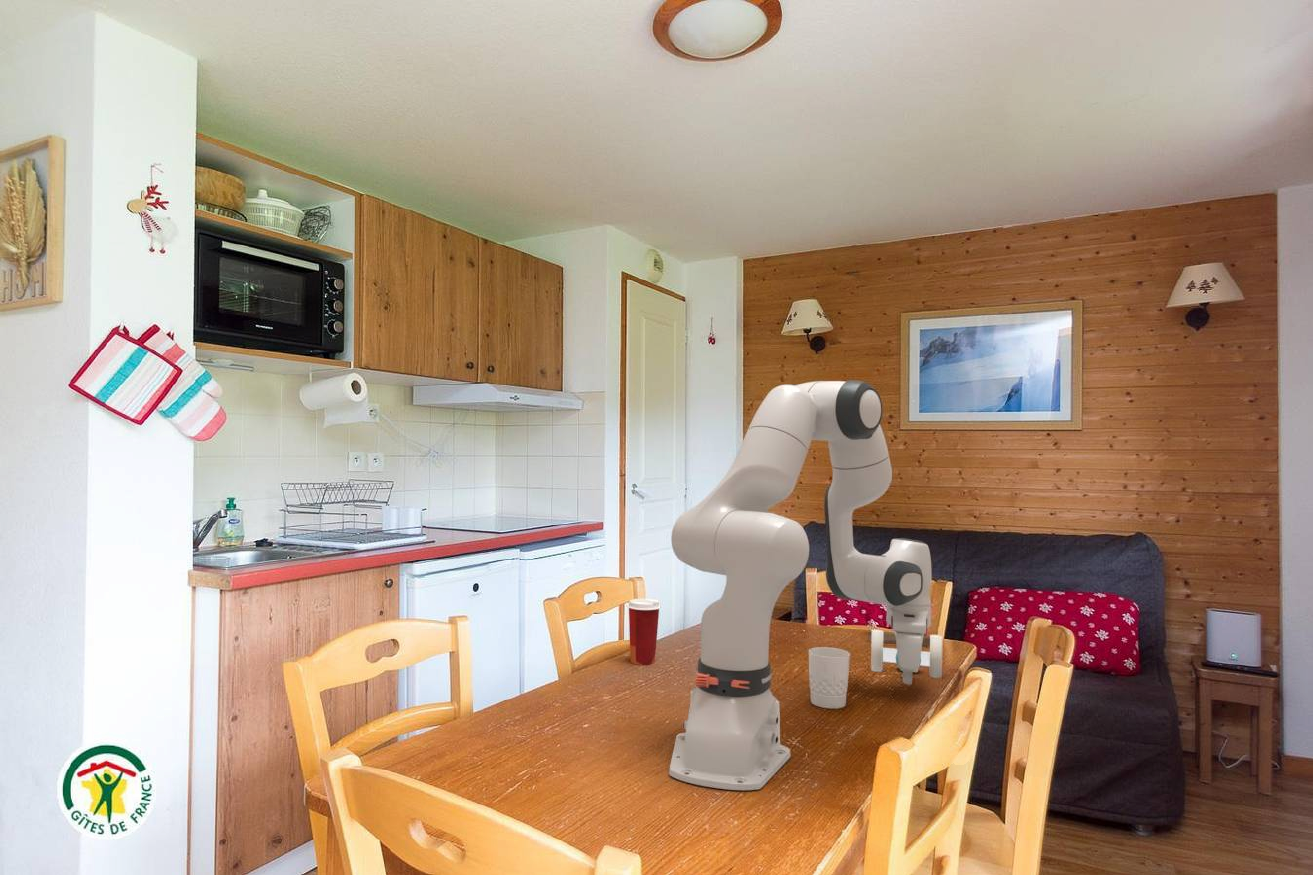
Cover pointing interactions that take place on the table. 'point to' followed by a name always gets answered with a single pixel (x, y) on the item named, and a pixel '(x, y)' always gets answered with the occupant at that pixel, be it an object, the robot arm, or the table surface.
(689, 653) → the table surface
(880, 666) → the post left
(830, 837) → the table surface
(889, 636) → the stopper wall
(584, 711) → the table surface
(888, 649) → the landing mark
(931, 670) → the post right
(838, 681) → the white cup
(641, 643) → the paper cup
